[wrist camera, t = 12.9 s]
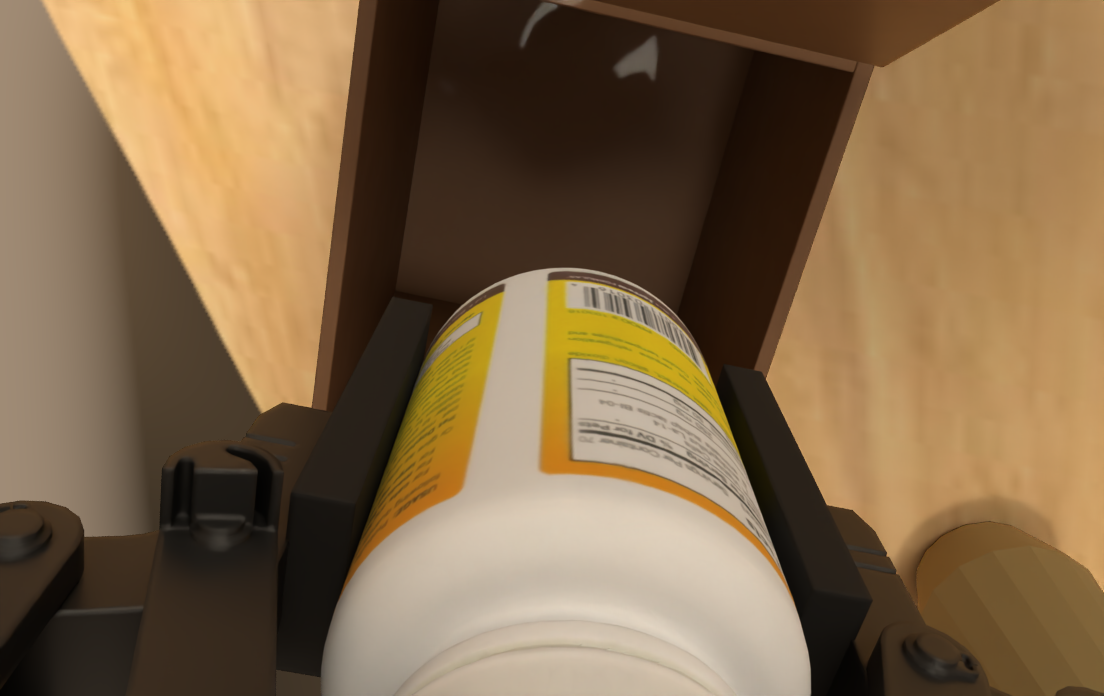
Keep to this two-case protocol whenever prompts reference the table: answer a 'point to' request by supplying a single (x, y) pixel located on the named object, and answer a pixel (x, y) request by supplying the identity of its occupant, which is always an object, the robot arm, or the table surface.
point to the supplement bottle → (565, 516)
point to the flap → (825, 22)
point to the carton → (579, 166)
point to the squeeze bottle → (1015, 608)
